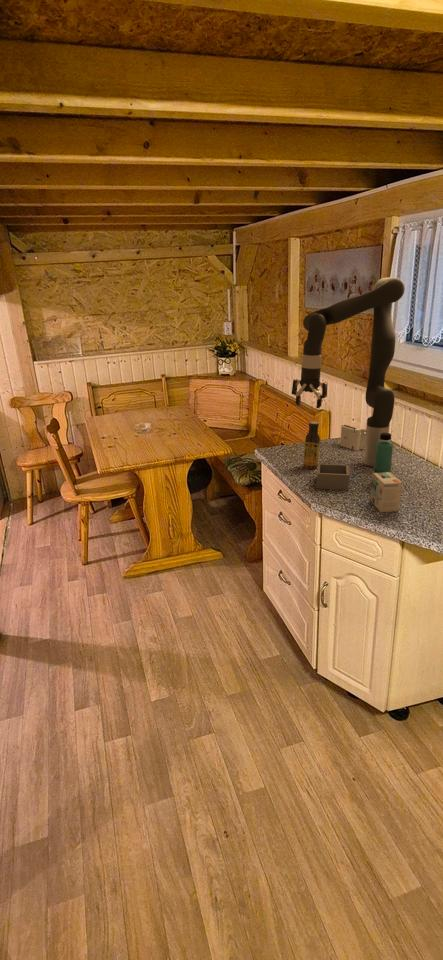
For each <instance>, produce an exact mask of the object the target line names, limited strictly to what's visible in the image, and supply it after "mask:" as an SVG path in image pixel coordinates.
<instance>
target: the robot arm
mask: <svg viewBox="0 0 443 960" xmlns="http://www.w3.org/2000/svg"><path fill="white" fill-rule="evenodd" d="M405 291H406V289H405V284H404V281H403V280H402V279H400V278H398V277H383V278H380V279H378V281H377V282H376V283H375V284H374V287H373V289H372V290H370V291H368V292H365V293H362V294H359V295H355V296H352V297H350V298H346V299H343V300H341V301H338V302H335V303H334V304H331V305H330V306H328V307H325V308H321V309H318V310H314V311H312V312H310V313H308V314H307V315H305V317H304V318H303V322H302V325H303V328H304V330H306V331H308V332H307V338H306V339H305V340H304V343H303V349H302V350H303V353H302V354H303V355H302V360H301V372H300V379H298V378H296V379H293V380H292V387H291V394H292V395H293V396H295V405H296V406H298V407H299V406H301V403H302V402H301V400H302V394H303V393H304V392H306V393H308V392H309V393H313V394H314V395H315V397H316V398H317V399H316V408H315V409H320V407H322V404H323V403H322V402H323V399H325V398H327V397H328V382H326V381H325V382H321V371H322V370H321V369H322V352H323V351H322V349H323V348H322V347H323V342H324V339H325V335H326V330H327V327H328V326H329V325H335V324H339V323H341V322H343V321H347V320H348V319H350V318H352V317H354V316H356V315H359V314H362V313H364V312H367V311H369V310H370V309H371V310H372V309H373V318H372V319H373V320H372V333H371V342H370V361H369V371H368V372H369V373H368V378H367V379H368V380H367V385H366V390H365V402H366V404H367V405H368V406H369V407H371V408H373V411H372V416H369V417H368V418H367V419H366V427H365V429H366V432H365V434H366V439H365V445H364V447H365V450H363V452H364V453H363V464H364V465H365V466H368V467H373V468H375V458H376V457H375V456H376V455H375V453H376V447H377V443H378V442H380V441H389V440H381V439H380V435H381V433H390V432H389V431H390V423H391V421H392V419H393V414H394V409H395V408H394V407H395V394H394V392H393V390H391V389H389V388H387V387H385V379H386V373H387V370H388V369H389V366H390V364H392V363H391V362H392V360H393V359H394V356H395V353H396V352H395V351H396V338H397V337H396V332H395V328H394V323H393V317H392V311H393V310H392V309H393V303H395V302H399V300H400V299H402V297H403V296H404V294H405ZM298 385H300V386H301V387H300V388H299V390H298ZM319 387H320V388H321V390H320V389H319Z"/></svg>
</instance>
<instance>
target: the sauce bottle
mask: <svg viewBox="0 0 443 960" xmlns="http://www.w3.org/2000/svg"><path fill="white" fill-rule="evenodd" d="M319 424H320V423H319V421H308V432H307V434H306V436H305V440H304V441H305V442H304V449H303V450H304V451H303V453H304V454H303V460H302V461H303V468H305V469H308V470H314V469H316V468H317V469H318V464H319V456H320V440H321V438H320V435H319Z"/></svg>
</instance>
